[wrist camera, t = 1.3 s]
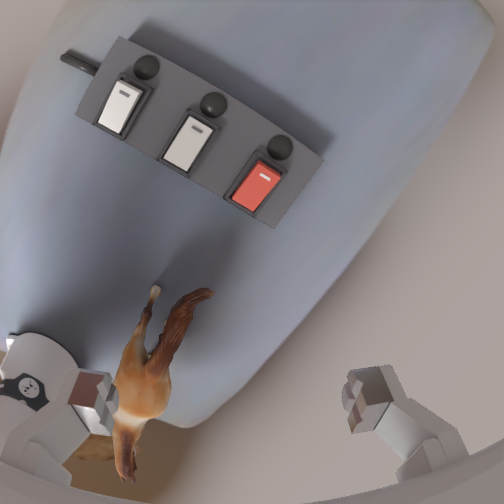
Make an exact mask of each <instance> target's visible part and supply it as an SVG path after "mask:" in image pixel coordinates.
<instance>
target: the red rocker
mask: <svg viewBox="0 0 504 504" xmlns="http://www.w3.org/2000/svg"><path fill="white" fill-rule="evenodd" d="M280 178H281V177H280V174H279V173H277V172H276V171H274V170H273V169H271V168H270V167H268V166H267V165H265V164H264V163H262V162H261V161H259V160H258V162H257V163H256V164H255V165H254V167H253V168H252V169H251V171H250V172H249V173H248V175H247V176H246V177H245V179H244V180H243V181H242V183H241V184H240V185H239V187H238V188H237V189H236V191H235V192H234V193H233V195H232V199H233V200H234V201H236V202H238V203H239V204H241V205H243V206H244V207H246V208H248V209H249V210H251V211H254V210H255V209H256V208H257V206H258V205H259V204H260V203H261V202H262V200H263V199H264V198H265V197H266V195H267V194H268V193H269V192H270V191H271V189H272V188H273V187H274V186H275V184H276V183H277V182H278V181H279V180H280Z"/></svg>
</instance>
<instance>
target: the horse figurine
mask: <svg viewBox="0 0 504 504" xmlns="http://www.w3.org/2000/svg"><path fill="white" fill-rule="evenodd" d="M160 293H161V288H160V287H159V286H157V285H154V286H152V288H151V292H150V298H149V301H148V304H147V306H146V307H145V308H144V310H143V312H142V318H141V321H140V322H139V324H138V325H137V327H136V328H135V330H134V332H133V335H132V337H131V340H130V341H129V343H128V344H127V345H126V347H125V349H124V352H123V355H122V359H121V362H120V366H119V368H118V371H117V374H116V377H115V380H114V382H113V383H112V384H113V385H115V386H116V387H117V390H118V393H119V407H118V411H117V412H116V413H115V414H113V415H112V416H113V418H114V420H115V423H114V427H113V431H112V437H113V443H114V453H115V463H116V468H117V471H118V472H119V474H120V478H121V480H122V481H123V482H124V480H125V479H129V478H130V479H131V481H132V484H134V483H135V476H134V473H135V471H136V470H137V466H136V463H135V454H136V452H137V450H136V449H135V447H134V445H135V443H136V441H138V439H139V438H140V436H141V434H142V432H143V430H144V427H145V422H146V421H147V420H149V419H150V418H156V417H158V416H160V415H162V414H163V413H164V411H165V409H166V407H167V404H168V401H169V398H170V395H171V389H172V387H171V380H170V373H169V365H170V363H171V361H172V359H173V355H174V353H175V352H176V351H177V349H178V347H179V345H180V343H181V342H182V339H183V337H184V335H185V332H186V330H187V328H188V326H189V323H190V322H191V320H192V319H193V310H194V308H195V307H196V305H197V304H198V303H200V302H201V301H203V300H205V299H207V298H210V296H212V295H214V294H215V292H213V291H211V290H210V289H208V288H200V289H197V290H195V291H193V292H191V293H189V294H186V295H184V296H183V297H182V298H181V299H179V300H178V302H177V303H176V304H175V305H174V306H173V308H172V309H171V312H170V315H169V317H168V319H167V320H165V324H164V326H165V327H164V329H163V333H161V334H160V335H159V343H158V345H157V346H156V348H155V349H154V350H153V351H152V353H151V355H150V354H147V352H146V349H145V347H144V340H145V333H146V326H147V324H148V322H149V320H150V319H151V316H152V306H153V303H154V301H155V299H156V298H157V296H158V295H160Z"/></svg>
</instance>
